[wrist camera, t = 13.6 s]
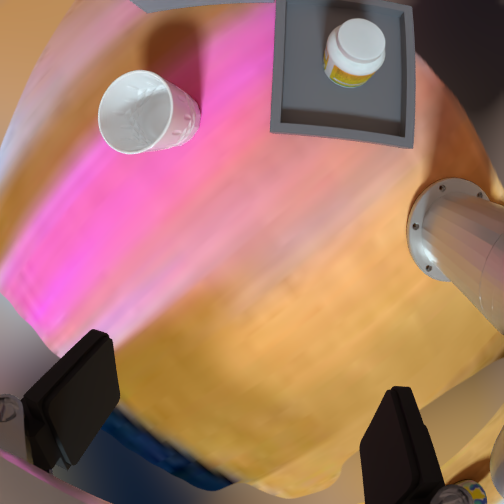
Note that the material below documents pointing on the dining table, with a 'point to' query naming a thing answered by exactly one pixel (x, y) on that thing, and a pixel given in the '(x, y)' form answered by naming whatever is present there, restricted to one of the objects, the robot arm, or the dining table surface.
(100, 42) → the dining table surface
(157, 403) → the dining table surface
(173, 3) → the gray square frame
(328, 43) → the supplement bottle
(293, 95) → the tray
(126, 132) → the white cup
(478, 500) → the decorative egg
